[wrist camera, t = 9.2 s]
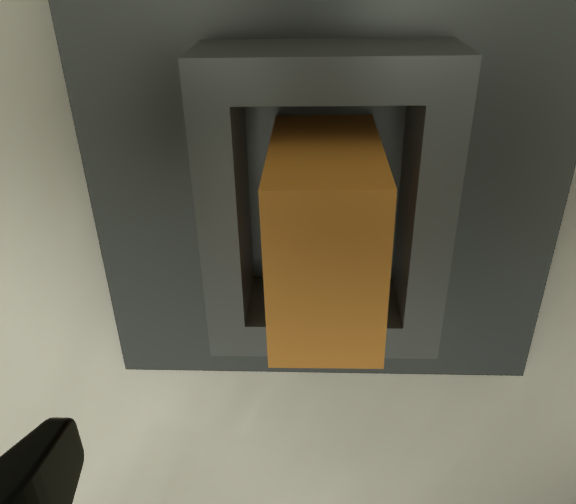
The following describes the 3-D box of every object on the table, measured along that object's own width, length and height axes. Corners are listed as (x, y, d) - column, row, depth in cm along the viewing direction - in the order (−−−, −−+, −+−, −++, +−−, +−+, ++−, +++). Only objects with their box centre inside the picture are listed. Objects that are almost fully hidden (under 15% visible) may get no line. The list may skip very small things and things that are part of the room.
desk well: (632, -102, 14) (717, -114, 11) (518, 367, 22) (550, 434, 19) (38, -88, 15) (-32, -96, 12) (129, 361, 23) (100, 424, 20)
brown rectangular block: (372, 114, 17) (397, 189, 12) (365, 254, 20) (383, 368, 14) (275, 115, 17) (258, 190, 12) (280, 254, 20) (268, 368, 14)
